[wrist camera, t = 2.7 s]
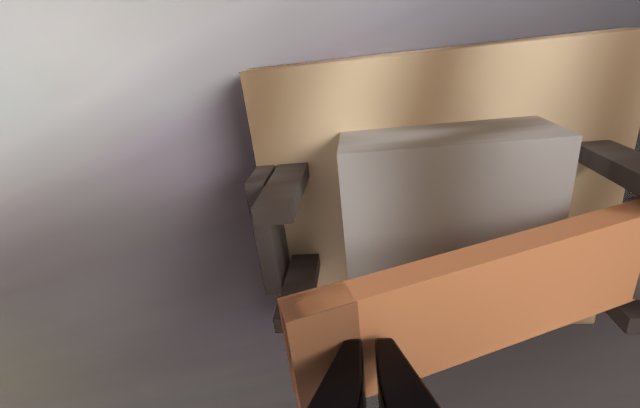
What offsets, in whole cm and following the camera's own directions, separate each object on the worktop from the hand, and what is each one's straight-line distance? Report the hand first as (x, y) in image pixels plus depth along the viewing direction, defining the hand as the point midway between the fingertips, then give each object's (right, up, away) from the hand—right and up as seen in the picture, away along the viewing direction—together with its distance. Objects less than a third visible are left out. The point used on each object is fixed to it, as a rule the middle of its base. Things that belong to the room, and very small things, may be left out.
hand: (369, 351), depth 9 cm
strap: (+3, +1, +2) cm, 4 cm away
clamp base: (+4, +4, +8) cm, 10 cm away
